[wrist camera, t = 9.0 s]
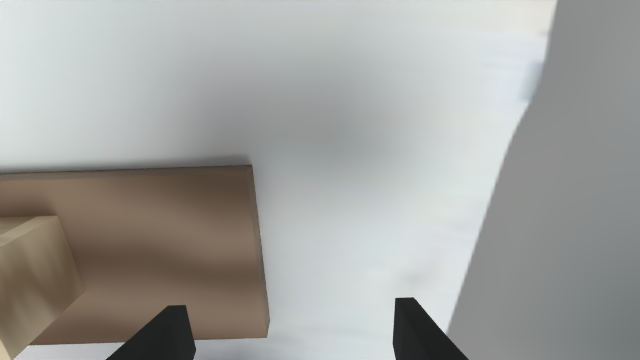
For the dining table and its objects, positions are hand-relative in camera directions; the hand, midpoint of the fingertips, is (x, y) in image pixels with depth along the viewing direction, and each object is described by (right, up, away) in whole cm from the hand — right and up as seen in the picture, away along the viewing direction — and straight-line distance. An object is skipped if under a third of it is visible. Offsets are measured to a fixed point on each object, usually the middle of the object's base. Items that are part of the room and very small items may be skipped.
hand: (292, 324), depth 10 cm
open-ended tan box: (-17, 0, +8) cm, 19 cm away
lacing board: (-12, 0, +10) cm, 16 cm away
